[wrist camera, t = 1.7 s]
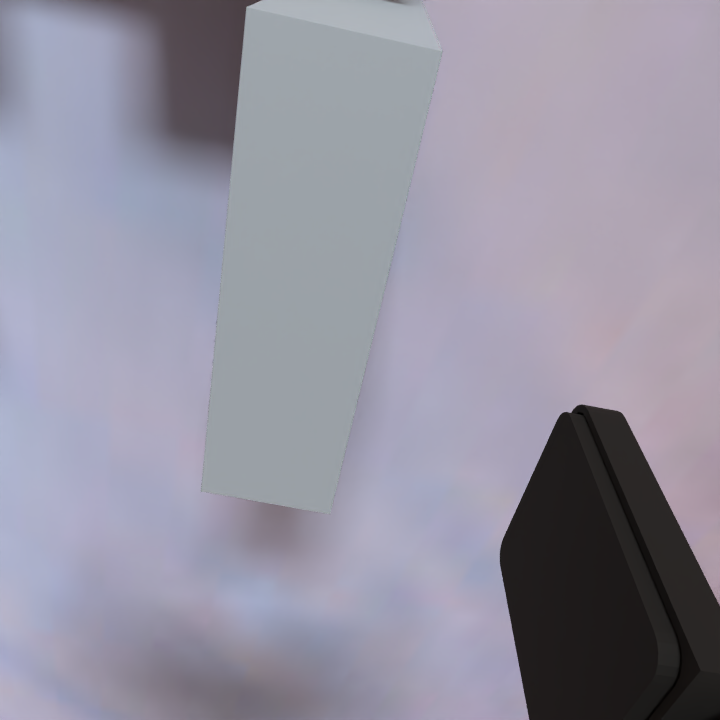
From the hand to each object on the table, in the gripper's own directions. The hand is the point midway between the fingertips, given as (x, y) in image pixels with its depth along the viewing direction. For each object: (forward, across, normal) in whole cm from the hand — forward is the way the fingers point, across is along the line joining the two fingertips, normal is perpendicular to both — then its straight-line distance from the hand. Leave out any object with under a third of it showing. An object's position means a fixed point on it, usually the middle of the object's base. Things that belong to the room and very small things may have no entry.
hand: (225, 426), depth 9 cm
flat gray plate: (+16, -1, 0) cm, 16 cm away
